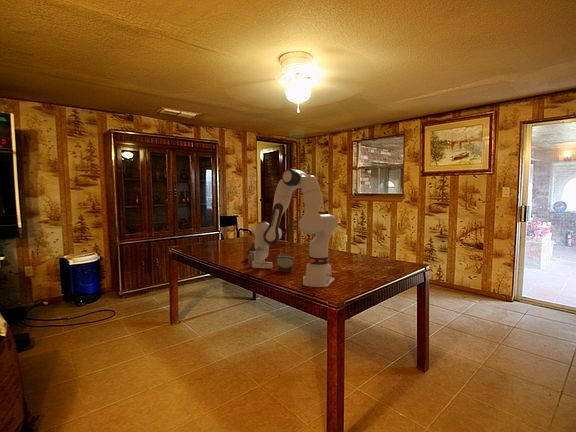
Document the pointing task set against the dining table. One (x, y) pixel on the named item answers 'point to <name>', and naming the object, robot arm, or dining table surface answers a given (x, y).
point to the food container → (285, 262)
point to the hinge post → (249, 261)
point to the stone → (251, 248)
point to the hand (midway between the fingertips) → (261, 266)
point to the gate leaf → (265, 265)
